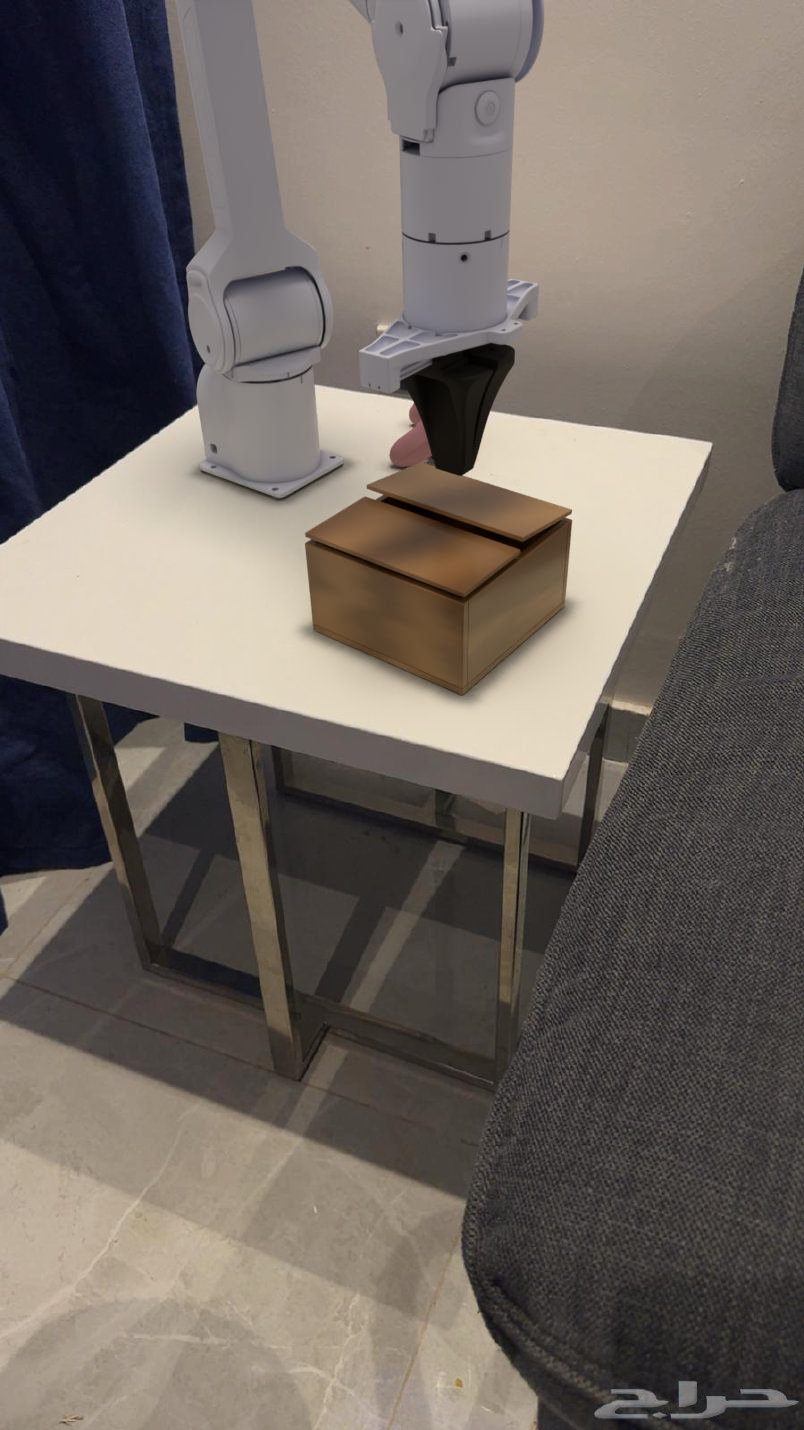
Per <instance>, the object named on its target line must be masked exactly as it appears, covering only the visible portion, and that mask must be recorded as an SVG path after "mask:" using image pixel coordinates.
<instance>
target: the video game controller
mask: <svg viewBox="0 0 804 1430" xmlns="http://www.w3.org/2000/svg"><path fill="white" fill-rule="evenodd" d="M408 417H409V421H410V422H411V423H412V424H413V425H415V426H414V427H413V428H412V429H410V430H409V431H408V432H406V433H405V434H403V435H402V436H401V437H399V438H398V439H397V440H396V441H395V442H393V444H392V446H391V447H390V450H389V460H390V461H391V463H392V464H393V465H394V466H396V467H400V468H404V467H406V468H407V467H411V466H413V465H415V464H418V463H420V462H422V463H424V461H426V460H427V459H429V458H431V457H432V454H431V450H430V447H429V443H428V439H427V436H426V433H425V429H424V426H423V423H422V420H421V418H420V415H419V413H418V410H417V408H416V406H415V404H414V403H413V404H412V405H411V406H410V408H409V411H408Z"/></svg>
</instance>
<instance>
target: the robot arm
mask: <svg viewBox="0 0 804 1430" xmlns="http://www.w3.org/2000/svg"><path fill="white" fill-rule="evenodd" d="M174 2H175V9H176V13H177V19H178V25H179V30H180V35H181V40H182V48H183V54H184V59H185V64H186V69H187V76H188V81H189V86H190V92H191V98H192V103H193V104H192V105H193V109H194V115H195V121H196V126H197V131H198V138H199V143H200V148H201V154H202V160H203V165H204V170H205V177H206V183H207V188H208V193H209V199H210V205H211V210H212V215H213V221H214V227H215V229H214V231H213V233H212V234H211V236H210V237H209V238H208V239H207V240H206V242H205V243H204V244H203V246H202V247H201V248H200V249H199V250H198V251H197V253H196V254H195V255H194V256H193V257H192V258H191V260H190V261H189V263H188V264H187V266H186V268H185V271H186V276H185V277H186V283H187V294H188V307H187V312H188V313H187V316H188V317H187V318H188V323H189V329H190V333H191V337H192V340H193V343H194V345H195V348H196V351H197V352H198V354H199V357H200V358H201V359H202V360H203V362H204V364H203V366H202V368H201V370H200V373H199V375H198V379H197V383H196V392H195V393H196V403H197V408H198V409H197V410H198V415H199V422H200V428H201V434H202V441H203V445H204V446H203V447H204V453H205V459H206V460H204V461H202V462H200V463H199V469H200V471H203V472H205V473H208V474H210V475H214V476H216V477H219V478H221V479H225V480H227V481H230V482H233V483H235V484H238V485H240V486H244V487H246V488H249V489H251V490H254V491H257V492H260V493H263V494H266V495H269V496H271V497H274V498H277V499H283V498H285V497H288V496H289V495H290V494H293V493H294V492H295V491H298V490H300V489H301V488H304V486H307V485H308V484H310V483H312V482H314V481H315V480H317V479H319V478H321V477H322V476H324V475H326V474H327V473H329V472H331V471H333V470H334V469H337V468H339V467H340V466H341V465H343V464H344V458H343V457H342V456H339V455H336V454H333V453H331V452H330V453H329V452H326V451H324V450H321V446H320V432H319V422H318V421H319V419H318V409H317V397H316V386H315V385H316V384H315V373H314V365H316V364H319V363H321V361H322V359H321V357H322V356H321V350H322V349H324V348H325V347H327V346H328V344H329V342H330V340H331V336H332V333H333V330H334V321H335V315H334V307H333V302H332V297H331V293H330V290H329V289H328V286H327V284H326V282H325V278H324V276H323V270H322V266H321V261H320V257H319V252H318V250H317V249H316V248H315V247H314V246H313V245H312V244H311V243H309V242H308V241H307V240H305V238H302V237H301V236H299V235H298V234H296V233H294V231H291V230H290V229H288V228H287V226H286V225H285V220H284V212H283V205H282V200H281V193H280V185H279V178H278V172H277V165H276V158H275V151H274V144H273V137H272V129H271V124H270V123H271V122H270V117H269V109H268V102H267V96H266V89H265V83H264V82H265V81H264V75H263V70H262V69H263V67H262V60H261V55H260V48H259V40H258V34H257V28H256V20H255V13H254V7H253V0H174ZM348 2H349V3H350V4H351V5H352V6H353V8H355V9H356V11H357V12H358V13H359V14H360V15H361V16H362V17H363V19H364V20H365V21H366V22H367V23H368V24H369V25H370V30H371V31H370V33H371V40H372V47H373V53H374V56H375V60H376V64H377V67H378V70H379V72H380V75H381V77H382V80H383V84H384V87H385V95H386V107H387V120H388V121H389V122H390V130H391V132H392V133H393V134H394V135H397V136H398V139H399V142H398V143H399V177H400V178H399V179H400V180H399V181H400V183H399V184H400V217H401V218H400V220H401V224H400V225H401V255H402V256H401V261H402V263H401V264H402V297H403V298H402V303H403V310H402V312H401V313H400V314H399V315H398V316H397V317H396V318H395V319H394V320H393V321H392V322H391V323H390V324H389V325H388V327H387V328H385V330H384V331H383V332H382V333H381V334H380V335H379V336H378V337H377V338H376V339H374V341H373V342H371V343H370V344H369V345H367V346H365V347H363V348H361V349H359V350H358V363H359V380H360V381H359V382H360V386H361V387H363V388H366V389H369V390H374V391H377V392H381V393H384V394H388V395H390V394H392V393H394V392H396V391H398V390H400V389H401V382H402V384H403V386H404V388H405V389H406V391H407V393H408V394H409V396H410V398H411V400H412V403H413V404H415V406H416V408H417V410H418V413H419V415H420V418H421V420H422V423H423V426H424V429H425V433H426V436H427V439H428V443H429V447H430V450H431V454H432V456H431V457H432V461H433V464H434V465H433V466H434V467H435V468H436V469H439V470H442V471H445V472H448V473H451V474H455V475H458V476H462V475H463V476H465V475H466V474H467V473H469V472H470V471H472V470H473V469H474V467H475V464H476V462H477V458H478V454H479V451H480V447H481V443H482V441H483V440H482V439H483V436H484V433H485V429H486V426H487V422H488V419H489V416H490V414H491V411H492V408H493V406H494V403H495V401H496V398H497V395H498V394H499V391H500V389H501V388H502V385H503V384H504V381H505V379H506V378H507V376H508V375H509V374H510V371H511V370H512V368H513V367H514V365H515V362H516V349H515V348H514V347H513V346H511V345H510V343H513V342H514V341H516V340H518V339H520V338H521V337H522V336H523V332H524V330H523V329H524V324H523V322H521V321H531V320H532V319H535V318H537V317H538V313H539V312H538V311H539V295H540V291H539V290H540V284H539V283H536V282H531V281H526V280H521V279H516V278H510V279H509V260H510V259H509V258H510V257H509V255H510V235H511V234H510V233H511V231H510V230H511V229H510V228H511V205H512V179H513V154H514V153H513V151H514V130H515V129H514V128H515V127H514V126H515V100H516V99H515V96H516V84H517V83H519V82H521V81H522V80H523V79H524V78H526V77H527V75H528V74H529V73H530V71H532V68H533V67H534V65H535V62H536V61H537V58H538V56H539V52H540V49H541V46H542V41H543V35H544V29H545V26H544V25H545V3H544V0H348ZM280 269H281V270H280ZM270 271H271V272H270ZM251 275H252V276H251ZM245 276H246V277H245ZM519 320H521V321H519Z"/></svg>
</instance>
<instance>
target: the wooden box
mask: <svg viewBox="0 0 804 1430" xmlns="http://www.w3.org/2000/svg"><path fill="white" fill-rule="evenodd" d="M572 528H573V519H572V518H568V517H565V518H563V519H562V520H560V521H558V522H556V523H555V524H553V525H551V526H549V527H548V528H546V529H544V530H542V531H541V532H539V533H537V534H535V535H534V536H532V537H530V538H528V539H527V540H525V541H523V542H521V541H518V540H515V539H512V538H509V537H507V536H504V535H501V534H498V533H495V532H492V531H489V530H486V529H483V528H480V527H477V526H474V525H471V524H468V523H465V522H462V521H459V520H456V519H454V518H451V517H448V516H445V515H442V514H439V513H436V512H433V511H430V510H427V509H424V508H421V507H418V506H415V505H412V504H409V503H406V502H403V501H401V500H398V499H395V498H392V497H389V496H386V495H383V494H381V495H380V496H378V497H377V498H376V499H374V498H371V497H368V496H366V495H365V496H363V497H362V498H359V499H358V500H356V501H355V502H353V503H352V504H350V505H348V506H346V507H345V508H342V509H341V510H339V512H337V513H335V514H333V515H332V516H330V517H329V518H327V519H324V521H322V522H320V523H319V524H317V525H316V526H314V527H312V528H310V529H309V530H307V531H306V532H305V533H304V536H305V538H307V539H310V540H308V541H306V542H305V543H304V548H305V549H304V550H305V560H306V568H307V581H308V589H309V590H308V592H309V600H310V601H309V602H310V610H311V621H312V630H313V631H315V632H317V633H320V634H322V635H325V636H326V637H329V638H331V639H333V640H336V641H338V642H340V643H343V644H344V645H347V646H350V647H352V648H354V649H356V650H359V651H361V652H363V653H365V654H367V655H370V656H372V657H374V658H376V659H378V660H381V661H383V662H386V663H388V664H390V665H392V666H395V667H398V668H400V669H401V670H404V671H407V672H409V673H411V674H412V675H415V676H417V677H420V678H422V679H425V680H426V681H429V682H432V683H433V684H436V685H437V686H440V687H443V688H445V689H447V690H450V691H452V692H454V693H456V694H459V695H461V696H463V695H464V694H466V692H468V691H469V690H470V689H472V688H473V686H475V685H476V684H477V683H479V681H480V680H482V679H483V678H484V677H485V676H486V675H487V674H488V673H490V672H491V671H492V670H494V668H496V667H497V666H498V665H499V664H500V663H501V662H502V661H504V659H506V657H508V656H509V655H510V654H511V653H513V652H514V651H515V650H516V649H518V648H519V646H520V645H522V644H523V643H524V642H526V640H528V639H529V638H530V637H531V636H532V635H533V634H535V633H536V632H537V631H538V630H539V629H540V628H541V627H543V626H544V625H546V623H547V622H548V621H549V620H551V618H553V617H554V616H555V615H556V614H558V613H559V611H561V610H562V609H563V608H564V607H566V598H567V597H566V596H567V588H568V587H567V586H568V575H569V565H570V564H569V563H570V553H571V552H570V551H571V539H572Z"/></svg>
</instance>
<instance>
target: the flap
mask: <svg viewBox="0 0 804 1430" xmlns="http://www.w3.org/2000/svg"><path fill="white" fill-rule="evenodd" d="M366 490H368V491H371V492H374V493H377V494H381V495H386V496H389V497H392V498H395V499H398V500H401V501H403V502H406V503H409V504H412V505H415V506H418V507H421V508H424V509H427V510H430V511H433V512H436V513H439V514H442V515H445V516H448V517H451V518H454V519H456V520H459V521H462V522H465V523H468V524H471V525H474V526H477V527H480V528H483V529H486V530H489V531H492V532H495V533H498V534H501V535H504V536H507V537H509V538H512V539H515V540H518V541H521V542H523V541H525V540H527V539H528V538H530V537H532V536H534V535H535V534H537V533H539V532H541V531H542V530H544V529H546V528H548V527H549V526H551V525H553V524H555V523H556V522H558V521H560V520H562V519H563V518H568V517H569V516H570V515H572V513H573V509H572V508H569V507H565V506H562V505H558V504H555V503H553V502H550V501H545V500H542V499H539V498H536V497H533V496H530V495H526V494H523V493H520V492H517V491H514V490H511V489H507V488H504V487H501V486H498V485H496V484H491V483H489V482H485V481H482V480H478V479H476V478H472V477H470V476H466V475H462V476H458V475H455V474H451V473H448V472H445V471H442V470H439V469H436V468H435V465H431V464H428V463H425V462H420V463H418V464H415V465H413V466H407V467H406V468H403V469H401V470H398V471H396V472H394V473H392V474H389V475H387V476H385V477H382V478H380V479H377V480H375V481H372V482H371V483H368V484H366Z"/></svg>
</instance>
